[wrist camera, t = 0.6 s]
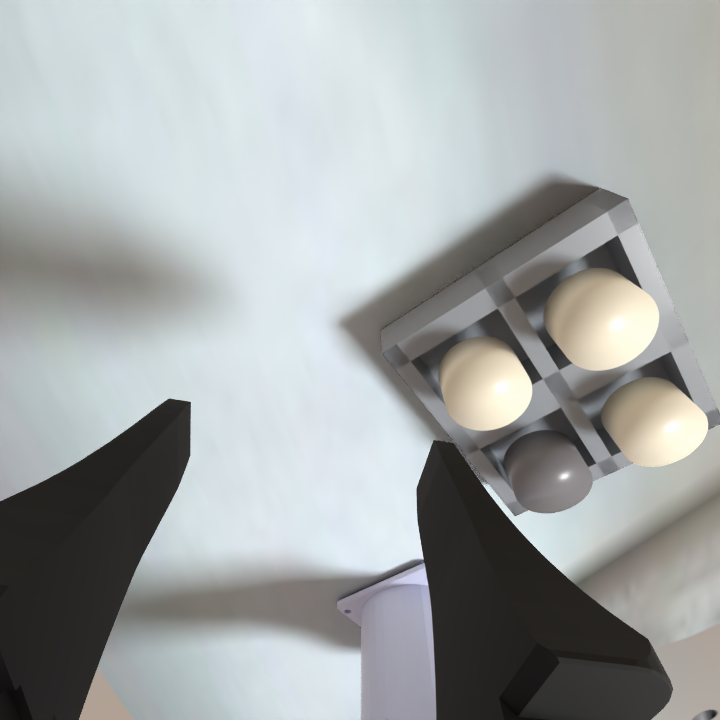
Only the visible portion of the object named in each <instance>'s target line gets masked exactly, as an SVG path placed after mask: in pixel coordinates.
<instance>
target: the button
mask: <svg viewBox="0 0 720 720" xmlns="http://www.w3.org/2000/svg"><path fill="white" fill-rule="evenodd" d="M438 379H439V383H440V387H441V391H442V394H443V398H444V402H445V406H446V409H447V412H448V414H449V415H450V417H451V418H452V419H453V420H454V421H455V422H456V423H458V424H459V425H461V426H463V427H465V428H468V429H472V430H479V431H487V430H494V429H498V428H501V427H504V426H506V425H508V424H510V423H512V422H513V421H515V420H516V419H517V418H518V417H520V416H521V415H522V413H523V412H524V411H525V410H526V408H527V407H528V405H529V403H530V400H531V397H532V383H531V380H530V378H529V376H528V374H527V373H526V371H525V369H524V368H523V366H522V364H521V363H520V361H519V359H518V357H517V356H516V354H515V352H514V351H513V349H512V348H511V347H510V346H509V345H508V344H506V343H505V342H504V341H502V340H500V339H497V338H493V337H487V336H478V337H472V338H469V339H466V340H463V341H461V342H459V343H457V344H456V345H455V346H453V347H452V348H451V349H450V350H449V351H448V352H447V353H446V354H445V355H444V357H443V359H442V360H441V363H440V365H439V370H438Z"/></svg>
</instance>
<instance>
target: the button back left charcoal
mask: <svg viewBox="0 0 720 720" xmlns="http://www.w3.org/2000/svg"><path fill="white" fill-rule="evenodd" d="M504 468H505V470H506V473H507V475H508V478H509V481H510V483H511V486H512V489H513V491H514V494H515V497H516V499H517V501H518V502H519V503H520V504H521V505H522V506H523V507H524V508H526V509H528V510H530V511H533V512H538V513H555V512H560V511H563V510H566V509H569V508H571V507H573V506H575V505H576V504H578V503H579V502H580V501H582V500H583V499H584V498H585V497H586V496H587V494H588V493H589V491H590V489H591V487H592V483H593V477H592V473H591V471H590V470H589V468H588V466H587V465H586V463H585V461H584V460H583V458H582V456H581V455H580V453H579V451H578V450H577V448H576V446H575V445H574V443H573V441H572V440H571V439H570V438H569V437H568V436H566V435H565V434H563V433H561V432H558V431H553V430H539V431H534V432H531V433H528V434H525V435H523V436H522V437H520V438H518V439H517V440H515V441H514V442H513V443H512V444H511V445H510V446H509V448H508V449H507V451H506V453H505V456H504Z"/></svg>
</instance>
